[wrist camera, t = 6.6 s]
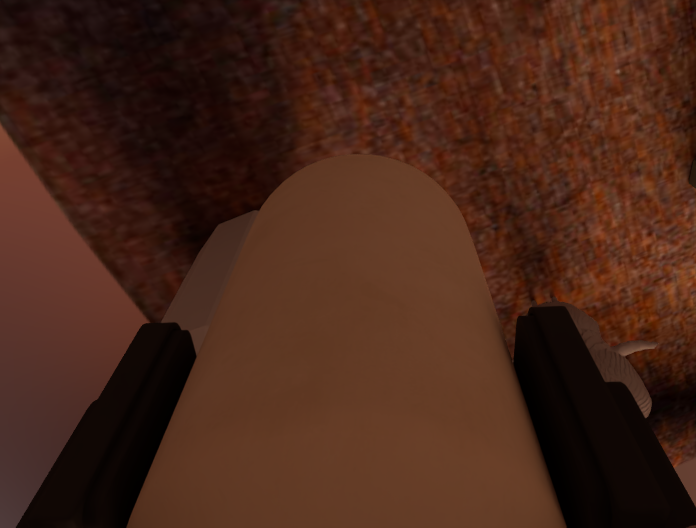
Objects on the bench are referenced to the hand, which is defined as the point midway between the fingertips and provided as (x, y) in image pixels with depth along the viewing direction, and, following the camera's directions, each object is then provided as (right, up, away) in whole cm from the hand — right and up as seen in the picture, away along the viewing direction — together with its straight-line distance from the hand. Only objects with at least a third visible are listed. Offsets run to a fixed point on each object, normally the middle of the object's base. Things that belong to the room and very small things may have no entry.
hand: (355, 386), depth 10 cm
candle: (0, +2, +4) cm, 5 cm away
